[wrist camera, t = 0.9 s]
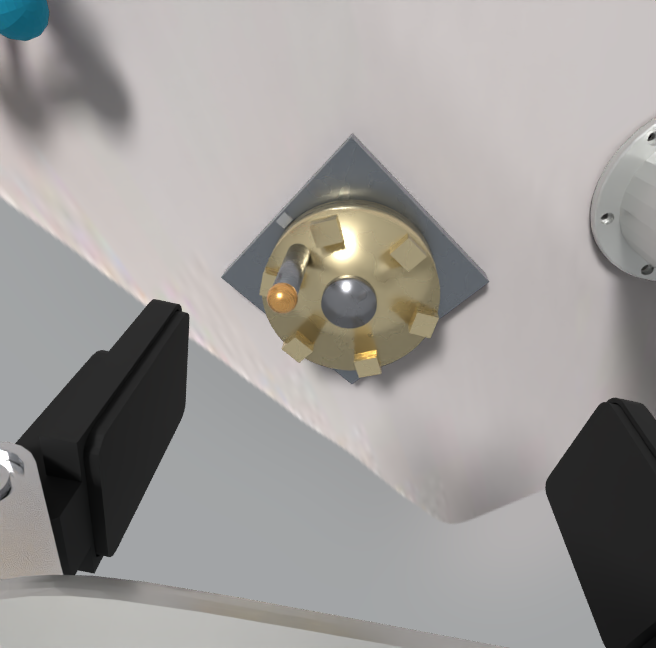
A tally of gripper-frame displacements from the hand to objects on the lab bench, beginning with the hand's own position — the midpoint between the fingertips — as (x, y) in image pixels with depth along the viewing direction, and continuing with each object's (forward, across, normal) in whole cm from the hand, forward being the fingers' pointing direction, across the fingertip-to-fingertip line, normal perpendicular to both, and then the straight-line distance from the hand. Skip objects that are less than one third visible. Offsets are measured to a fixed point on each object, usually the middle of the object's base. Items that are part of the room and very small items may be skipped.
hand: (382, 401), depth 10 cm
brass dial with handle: (+24, -1, +9) cm, 26 cm away
